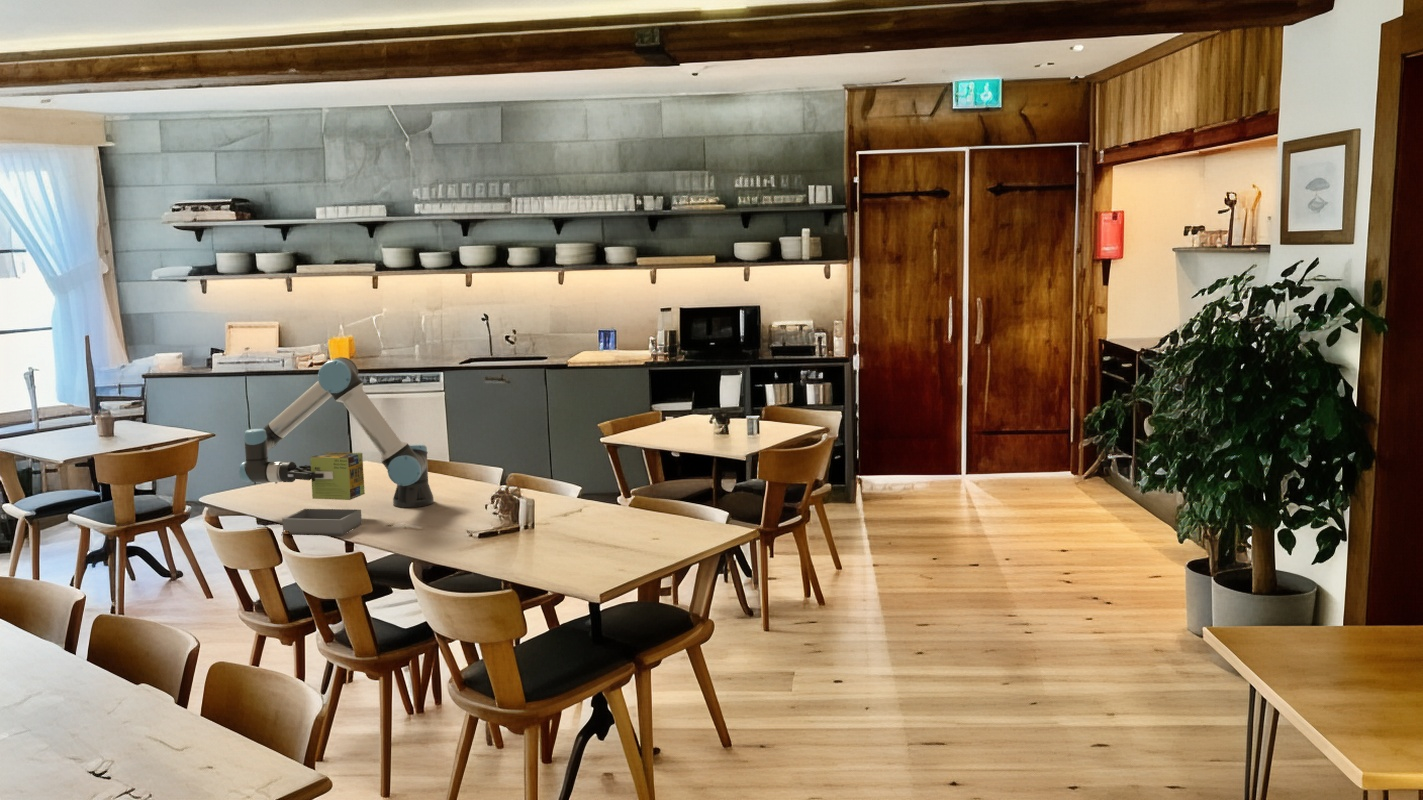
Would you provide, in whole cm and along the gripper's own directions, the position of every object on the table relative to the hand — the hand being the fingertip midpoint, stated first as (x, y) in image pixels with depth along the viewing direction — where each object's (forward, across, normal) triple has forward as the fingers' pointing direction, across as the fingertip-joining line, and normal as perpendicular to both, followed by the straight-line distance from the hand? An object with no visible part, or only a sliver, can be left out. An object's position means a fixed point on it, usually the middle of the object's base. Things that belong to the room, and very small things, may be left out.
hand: (340, 472), depth 393 cm
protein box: (-1, 0, -9) cm, 9 cm away
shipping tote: (+1, +18, -17) cm, 25 cm away
